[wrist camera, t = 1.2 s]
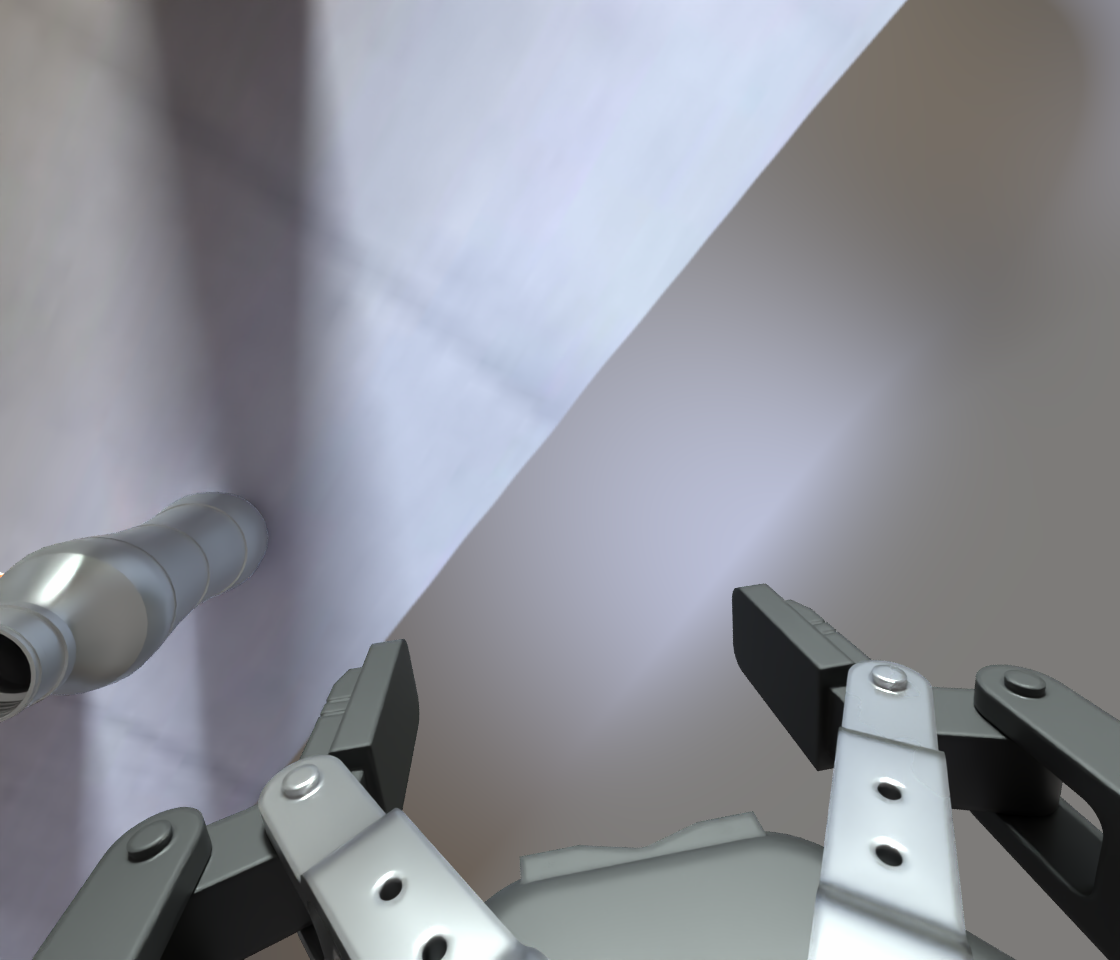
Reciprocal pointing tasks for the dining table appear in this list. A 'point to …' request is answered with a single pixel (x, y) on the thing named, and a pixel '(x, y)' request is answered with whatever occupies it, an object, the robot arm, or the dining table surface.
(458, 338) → the dining table surface
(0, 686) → the silver metal bottle
